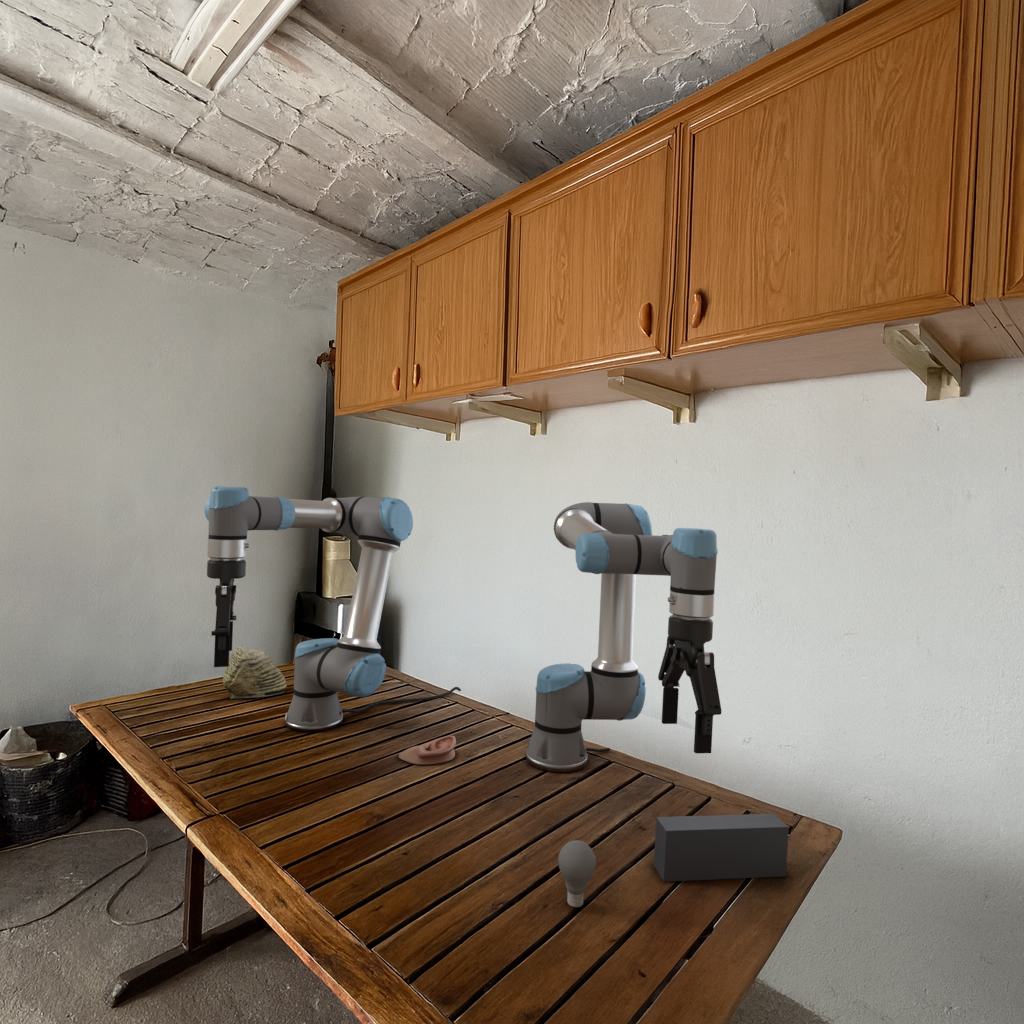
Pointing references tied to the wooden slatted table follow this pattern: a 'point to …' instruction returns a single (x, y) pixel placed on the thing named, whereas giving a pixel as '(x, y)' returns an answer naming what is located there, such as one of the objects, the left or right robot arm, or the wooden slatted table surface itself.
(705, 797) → the wooden slatted table surface
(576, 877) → the light bulb
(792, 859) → the wooden slatted table surface
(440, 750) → the anatomical model
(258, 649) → the fossil
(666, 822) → the bar
